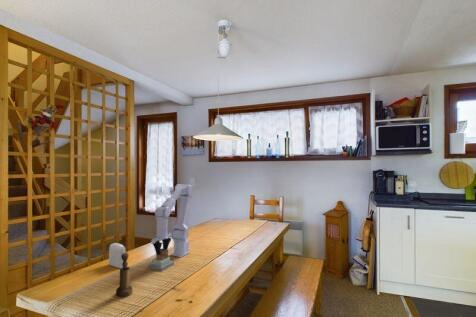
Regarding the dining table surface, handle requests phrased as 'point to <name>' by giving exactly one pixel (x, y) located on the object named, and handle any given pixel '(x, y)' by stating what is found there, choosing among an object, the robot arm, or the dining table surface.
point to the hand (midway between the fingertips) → (161, 252)
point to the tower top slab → (160, 261)
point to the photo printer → (116, 255)
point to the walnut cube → (162, 254)
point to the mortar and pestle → (124, 279)
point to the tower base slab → (161, 266)
